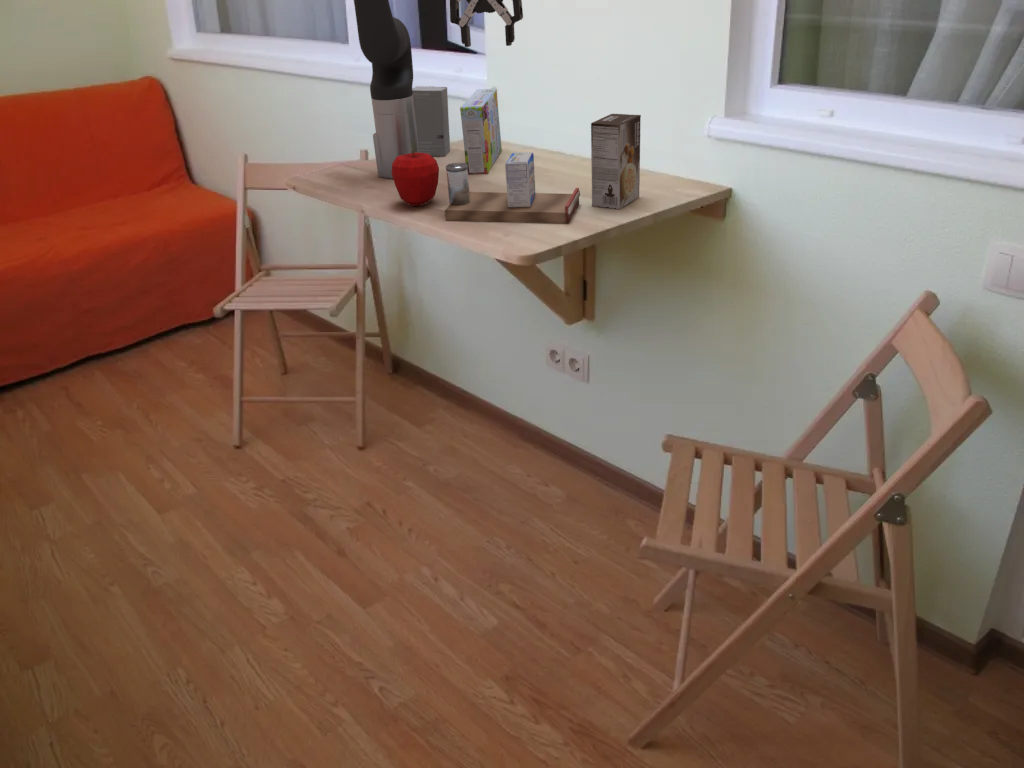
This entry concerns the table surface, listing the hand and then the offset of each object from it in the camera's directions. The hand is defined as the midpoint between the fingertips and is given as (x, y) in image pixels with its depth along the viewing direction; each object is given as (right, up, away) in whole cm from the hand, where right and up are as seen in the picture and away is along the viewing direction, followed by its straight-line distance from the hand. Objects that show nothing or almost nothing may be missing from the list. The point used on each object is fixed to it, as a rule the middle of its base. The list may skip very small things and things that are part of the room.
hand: (488, 46), depth 163 cm
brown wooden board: (+5, -34, -3) cm, 34 cm away
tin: (-6, -32, -3) cm, 32 cm away
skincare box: (-15, -10, +42) cm, 46 cm away
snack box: (-2, -15, +32) cm, 35 cm away
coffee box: (+25, -31, -1) cm, 40 cm away
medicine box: (+7, -32, -5) cm, 33 cm away
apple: (-14, -31, +5) cm, 34 cm away
